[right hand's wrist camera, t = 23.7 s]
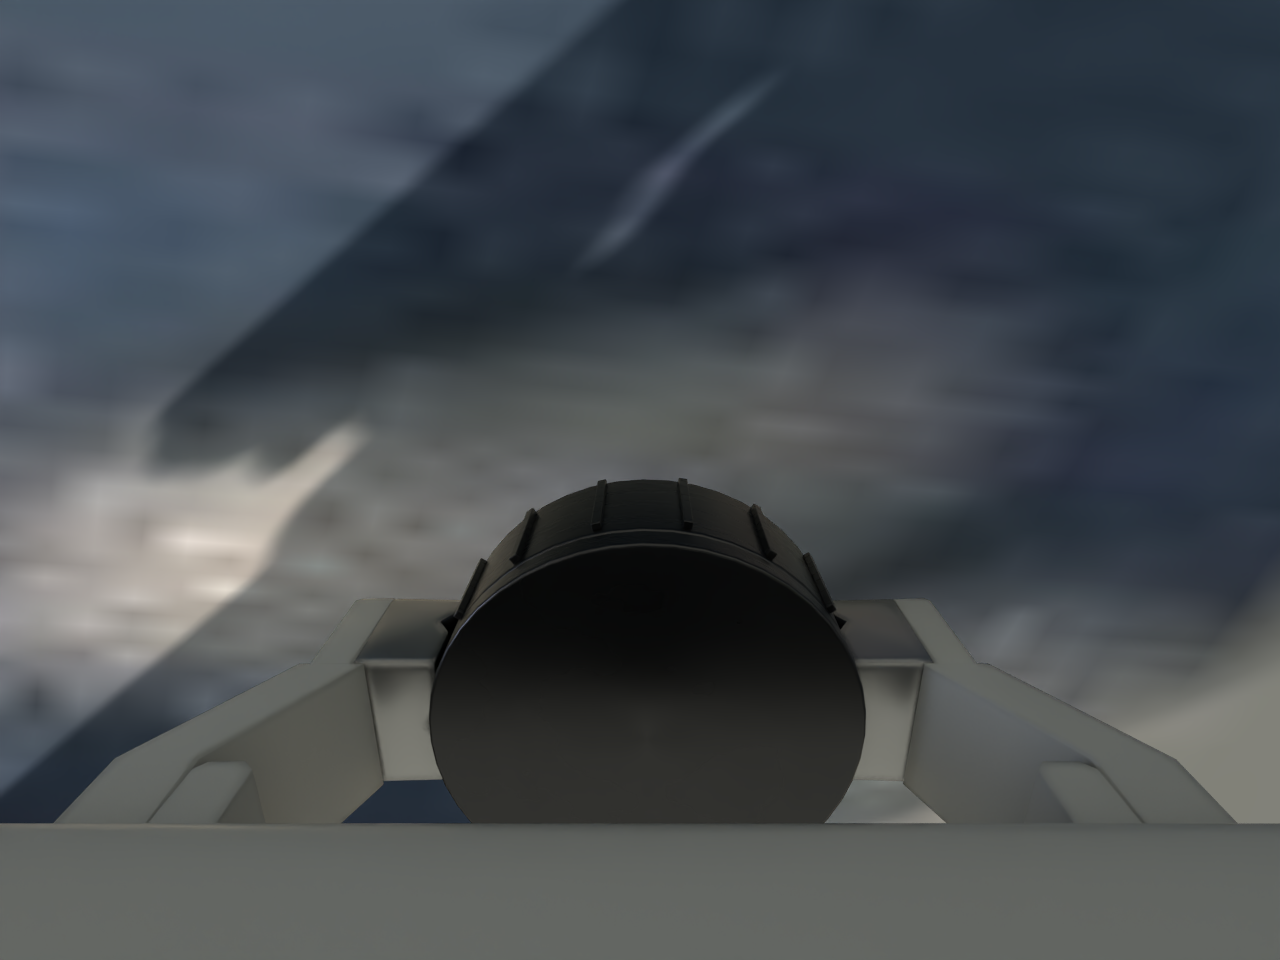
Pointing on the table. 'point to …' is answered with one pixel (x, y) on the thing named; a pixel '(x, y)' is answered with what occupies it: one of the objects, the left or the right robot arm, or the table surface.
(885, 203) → the table surface
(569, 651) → the lid
